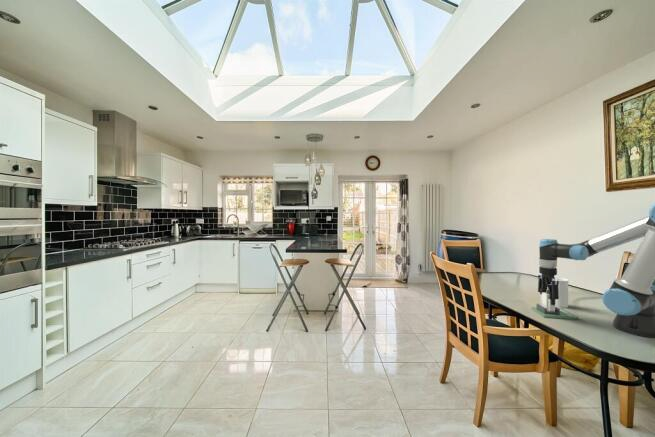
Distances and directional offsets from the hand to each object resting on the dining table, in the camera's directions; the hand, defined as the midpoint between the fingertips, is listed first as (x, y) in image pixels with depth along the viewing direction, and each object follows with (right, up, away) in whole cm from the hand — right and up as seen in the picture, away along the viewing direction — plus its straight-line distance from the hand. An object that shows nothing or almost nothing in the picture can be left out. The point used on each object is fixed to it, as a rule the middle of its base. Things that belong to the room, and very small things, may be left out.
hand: (547, 308), depth 145 cm
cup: (+18, -3, +13) cm, 22 cm away
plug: (0, -2, 0) cm, 2 cm away
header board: (+3, -3, -1) cm, 4 cm away
